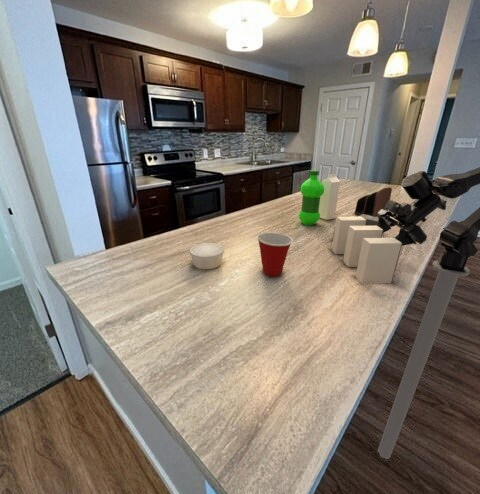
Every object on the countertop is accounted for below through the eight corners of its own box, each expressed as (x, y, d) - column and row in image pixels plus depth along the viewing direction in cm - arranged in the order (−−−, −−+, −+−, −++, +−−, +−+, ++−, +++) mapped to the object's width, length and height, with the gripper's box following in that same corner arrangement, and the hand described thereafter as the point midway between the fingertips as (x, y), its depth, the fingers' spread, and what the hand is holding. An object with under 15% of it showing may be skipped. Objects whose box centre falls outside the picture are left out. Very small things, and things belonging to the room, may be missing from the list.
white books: (355, 249, 99) (361, 216, 94) (391, 283, 77) (402, 243, 72) (331, 249, 99) (336, 216, 94) (361, 284, 77) (370, 243, 72)
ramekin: (187, 258, 91) (186, 245, 89) (218, 254, 95) (218, 240, 93) (194, 274, 82) (193, 259, 80) (228, 268, 85) (228, 253, 83)
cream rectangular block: (369, 260, 90) (376, 225, 85) (375, 266, 87) (383, 229, 82) (343, 261, 90) (349, 225, 85) (347, 266, 86) (354, 230, 81)
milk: (317, 217, 136) (322, 173, 127) (325, 215, 139) (331, 172, 130) (326, 220, 131) (332, 175, 123) (335, 218, 134) (341, 174, 126)
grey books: (380, 231, 117) (383, 218, 115) (353, 247, 101) (356, 232, 98) (360, 226, 123) (363, 214, 121) (332, 240, 107) (334, 226, 105)
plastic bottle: (298, 219, 132) (303, 168, 123) (320, 221, 129) (327, 169, 120) (295, 225, 124) (300, 171, 114) (318, 228, 120) (326, 172, 111)
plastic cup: (297, 275, 81) (301, 239, 77) (268, 284, 76) (271, 247, 72) (276, 261, 90) (278, 228, 85) (249, 268, 85) (250, 234, 80)
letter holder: (387, 211, 146) (393, 185, 141) (372, 218, 134) (378, 191, 128) (369, 207, 153) (374, 183, 148) (354, 214, 141) (358, 188, 135)
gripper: (388, 185, 87) (351, 217, 91) (428, 198, 70) (379, 237, 74) (405, 207, 91) (368, 237, 95) (447, 225, 74) (400, 261, 78)
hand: (377, 242), depth 85 cm, fingers open, 9 cm apart
